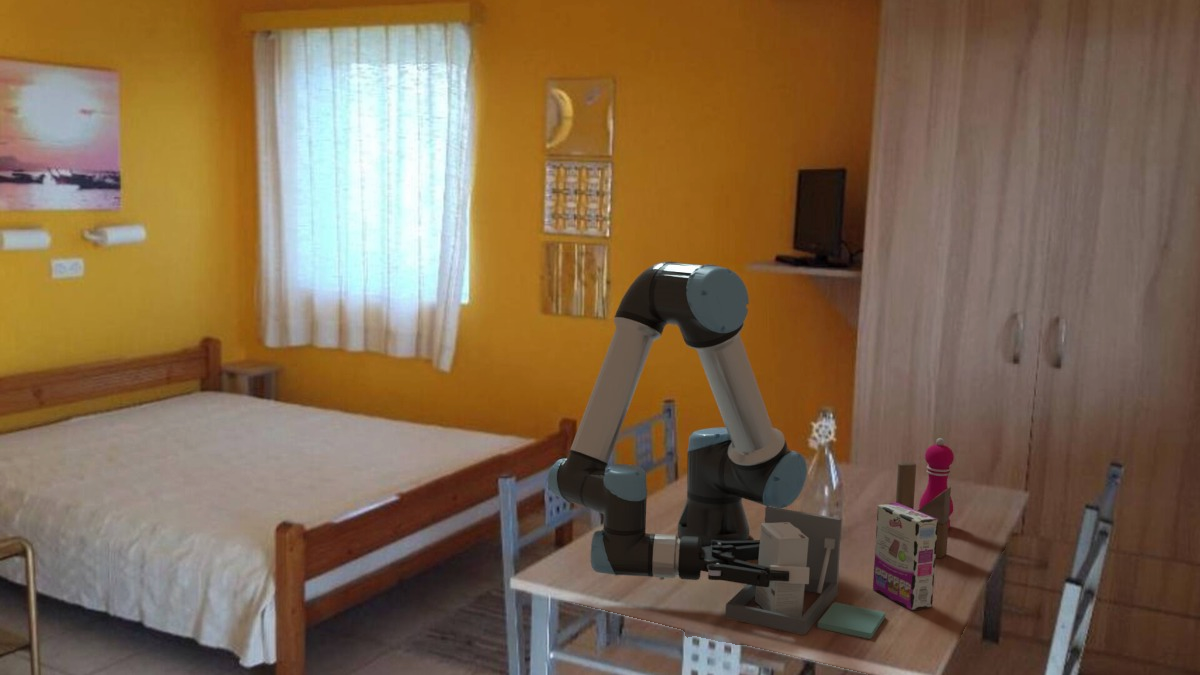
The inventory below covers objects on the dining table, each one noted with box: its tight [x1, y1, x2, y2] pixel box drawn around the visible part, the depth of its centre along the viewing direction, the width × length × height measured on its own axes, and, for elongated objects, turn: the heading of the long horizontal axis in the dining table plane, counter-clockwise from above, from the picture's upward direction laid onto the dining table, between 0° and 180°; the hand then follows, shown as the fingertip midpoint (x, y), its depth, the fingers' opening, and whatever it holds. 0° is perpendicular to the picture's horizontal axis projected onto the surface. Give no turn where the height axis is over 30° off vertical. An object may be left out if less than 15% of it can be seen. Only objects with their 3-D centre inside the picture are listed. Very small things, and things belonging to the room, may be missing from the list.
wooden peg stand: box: [895, 460, 952, 559], centre depth 216 cm, size 4×11×18 cm, turn 53°
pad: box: [817, 601, 886, 640], centre depth 180 cm, size 9×10×1 cm
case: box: [725, 506, 842, 636], centre depth 186 cm, size 14×20×14 cm
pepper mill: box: [918, 437, 955, 530], centre depth 231 cm, size 7×7×20 cm
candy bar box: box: [872, 502, 938, 611], centre depth 190 cm, size 11×5×16 cm, turn 24°
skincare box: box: [754, 522, 809, 617], centre depth 184 cm, size 8×6×15 cm
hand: (807, 565), depth 184 cm, fingers closed on skincare box, 9 cm apart
